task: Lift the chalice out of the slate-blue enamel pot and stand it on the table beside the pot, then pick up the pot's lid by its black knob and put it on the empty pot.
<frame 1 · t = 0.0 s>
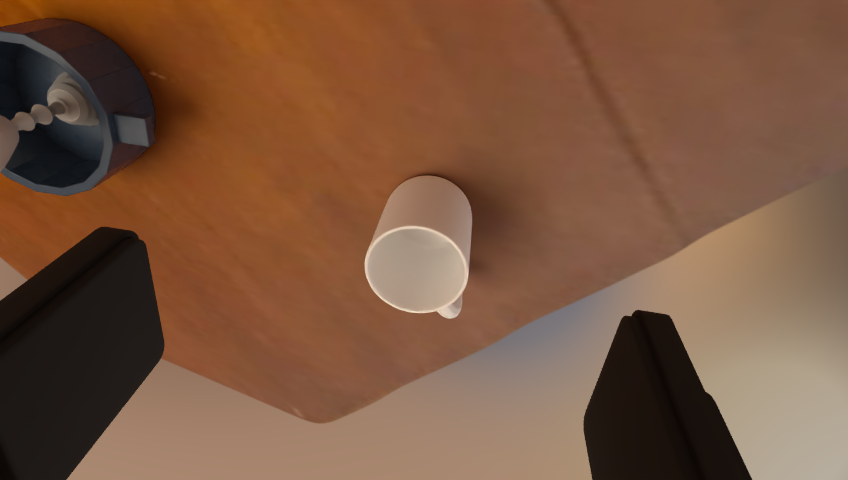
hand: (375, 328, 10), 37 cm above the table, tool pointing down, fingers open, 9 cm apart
mug: (437, 227, 51), on the table
pot: (83, 98, 49), on the table
chalice: (82, 98, 49), resting on pot
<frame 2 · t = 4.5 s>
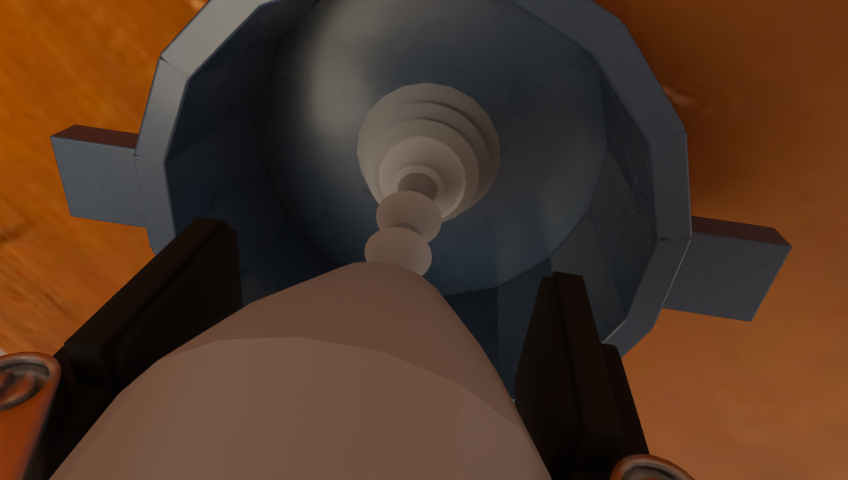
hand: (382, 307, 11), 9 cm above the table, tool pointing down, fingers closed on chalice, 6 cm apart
pot: (428, 152, 19), on the table
chalice: (428, 153, 19), resting on pot, touching gripper
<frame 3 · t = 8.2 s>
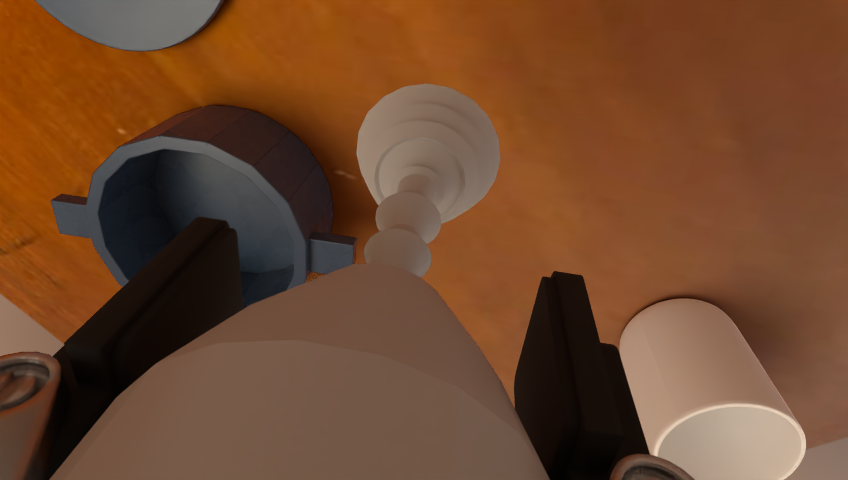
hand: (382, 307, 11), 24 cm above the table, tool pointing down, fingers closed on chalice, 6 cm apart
mug: (677, 354, 41), on the table
pot: (240, 199, 38), on the table
chalice: (428, 154, 19), point 15 cm above the table, touching gripper
when the fingers open (9 cm above the table, at t = 12.1 s): chalice stays where it is, on the table.
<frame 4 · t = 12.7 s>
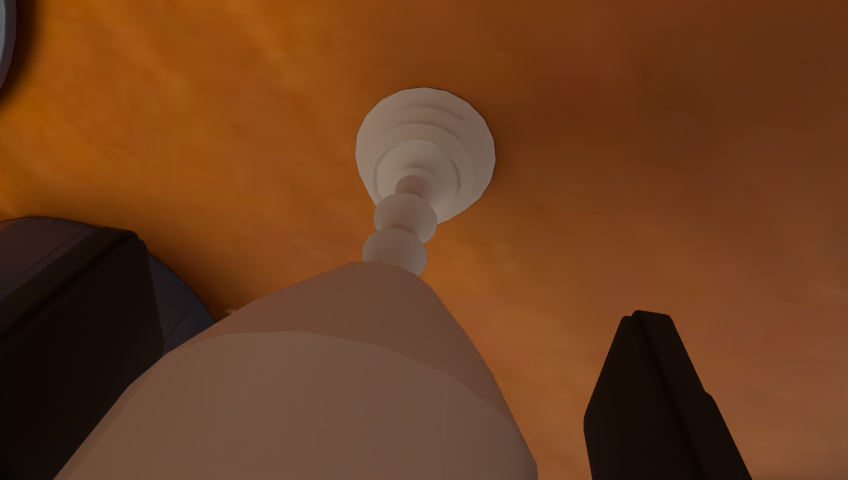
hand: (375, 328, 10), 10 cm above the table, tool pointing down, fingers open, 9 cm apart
pot: (94, 341, 26), on the table
chalice: (425, 156, 19), on the table
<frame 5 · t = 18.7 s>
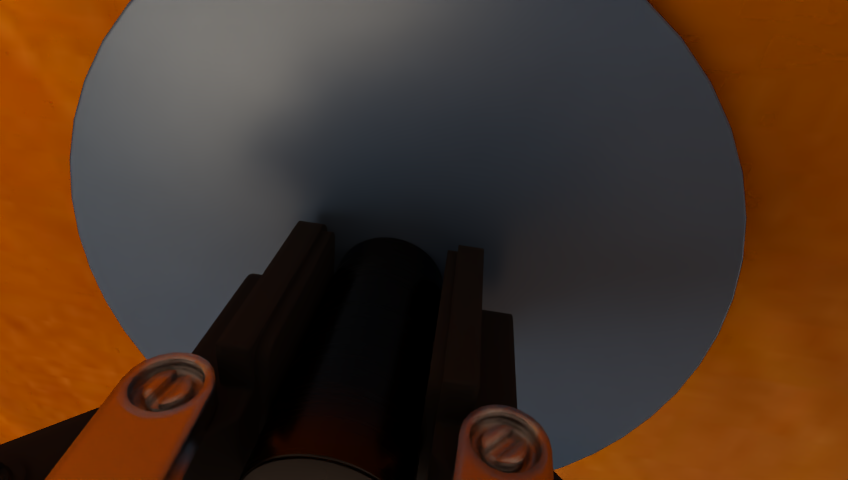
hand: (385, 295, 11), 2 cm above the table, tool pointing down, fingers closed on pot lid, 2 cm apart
pot lid: (393, 270, 12), point 1 cm above the table, touching gripper
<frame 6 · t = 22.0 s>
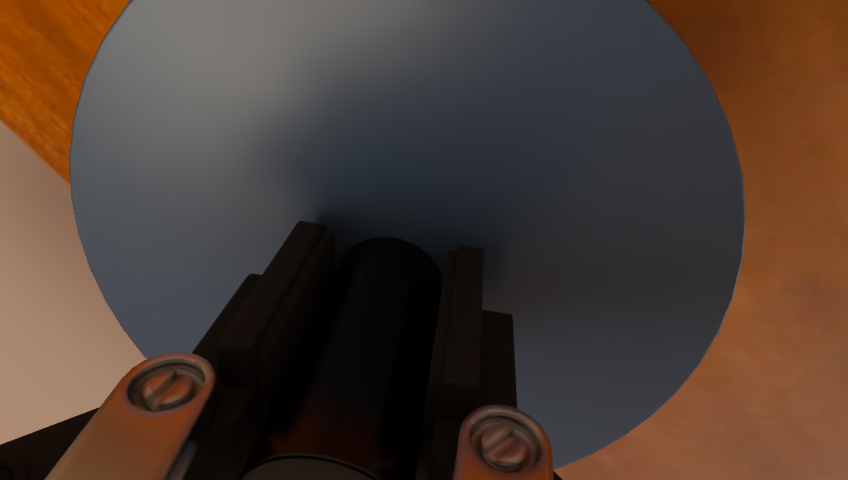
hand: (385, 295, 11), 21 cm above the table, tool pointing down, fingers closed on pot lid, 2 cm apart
pot lid: (393, 270, 12), point 20 cm above the table, touching gripper
when the fingers open (7 cm above the table, at t = 25.6 s): pot lid stays where it is, resting on pot.
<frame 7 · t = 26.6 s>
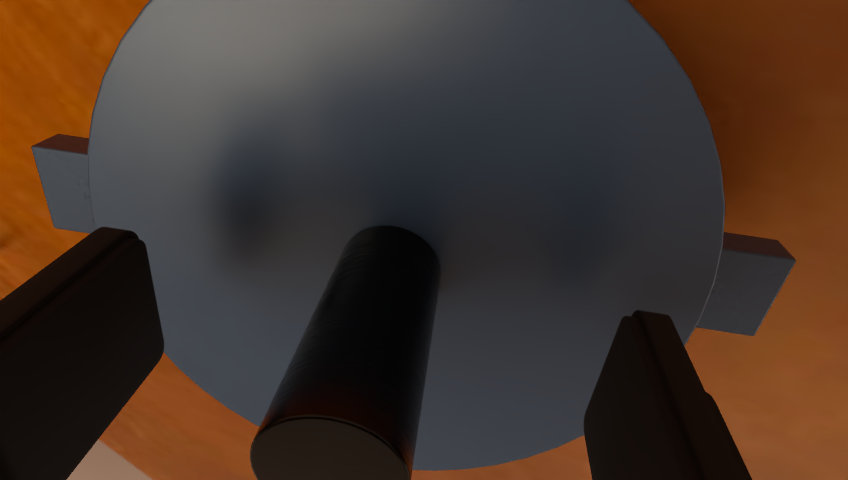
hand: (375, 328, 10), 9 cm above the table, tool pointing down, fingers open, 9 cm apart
pot lid: (393, 258, 13), point 6 cm above the table, touching pot
pot: (423, 160, 18), on the table
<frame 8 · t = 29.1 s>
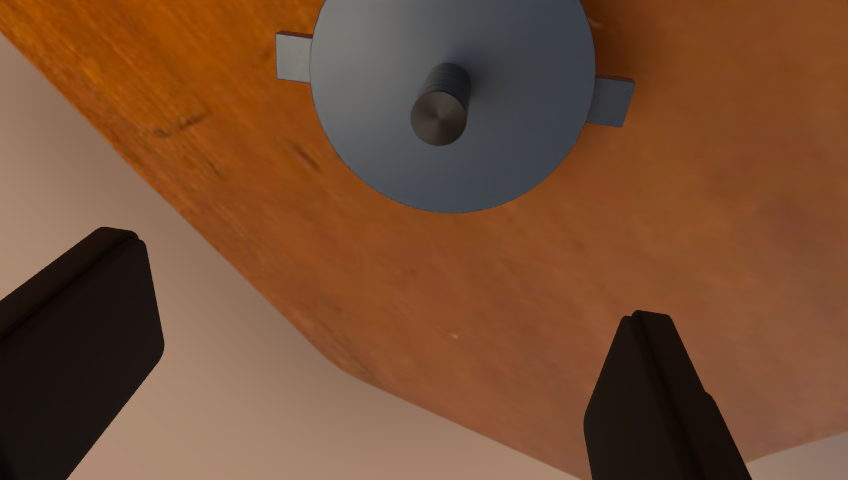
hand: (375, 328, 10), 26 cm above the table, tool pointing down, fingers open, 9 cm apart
pot lid: (448, 84, 27), point 6 cm above the table, touching pot
pot: (456, 58, 33), on the table
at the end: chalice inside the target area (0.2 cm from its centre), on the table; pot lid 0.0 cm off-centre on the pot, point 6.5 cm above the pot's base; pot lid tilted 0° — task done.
